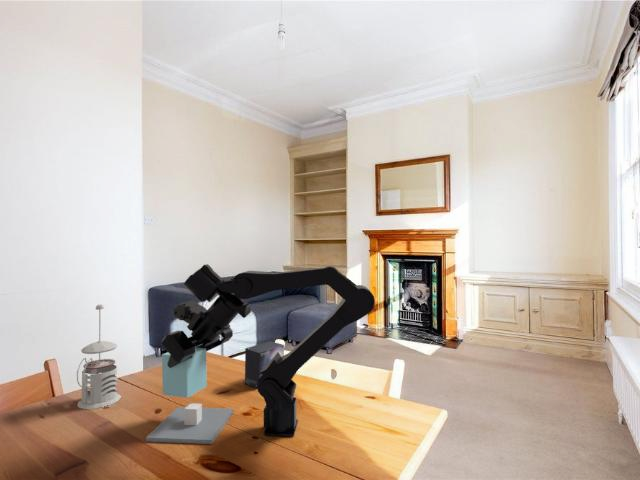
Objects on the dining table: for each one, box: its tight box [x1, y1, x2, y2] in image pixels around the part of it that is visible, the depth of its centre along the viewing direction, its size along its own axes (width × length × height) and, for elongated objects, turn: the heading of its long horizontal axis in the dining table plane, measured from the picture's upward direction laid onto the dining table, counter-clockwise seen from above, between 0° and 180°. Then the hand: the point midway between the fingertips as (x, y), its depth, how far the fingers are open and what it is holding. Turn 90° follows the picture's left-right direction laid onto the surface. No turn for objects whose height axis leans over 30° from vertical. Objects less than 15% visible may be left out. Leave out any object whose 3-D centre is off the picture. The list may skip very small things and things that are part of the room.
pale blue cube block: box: [161, 347, 208, 399], centre depth 84 cm, size 7×7×9 cm
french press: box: [76, 304, 122, 410], centre depth 93 cm, size 10×12×25 cm
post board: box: [145, 403, 235, 445], centre depth 81 cm, size 14×14×4 cm
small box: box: [244, 340, 285, 389], centre depth 107 cm, size 11×6×10 cm, turn 143°
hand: (180, 361), depth 84 cm, fingers closed on pale blue cube block, 7 cm apart
